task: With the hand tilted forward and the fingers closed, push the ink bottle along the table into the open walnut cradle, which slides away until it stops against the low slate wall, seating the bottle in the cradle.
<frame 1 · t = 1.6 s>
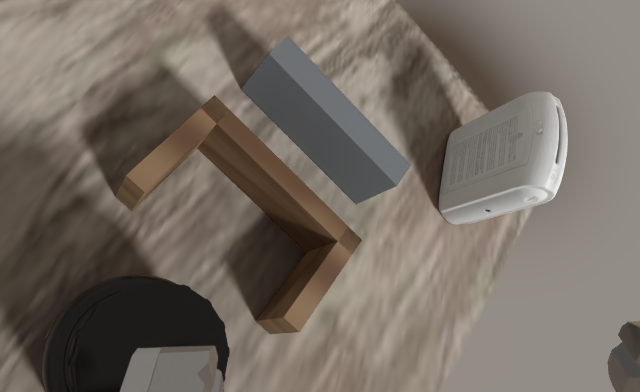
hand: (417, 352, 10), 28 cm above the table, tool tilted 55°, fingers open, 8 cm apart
ink bottle: (118, 354, 33), on the table
wall: (308, 139, 44), on the table
cradle: (243, 218, 36), point 3 cm above the table, slide at 0.0 cm
photo printer: (453, 179, 52), on the table
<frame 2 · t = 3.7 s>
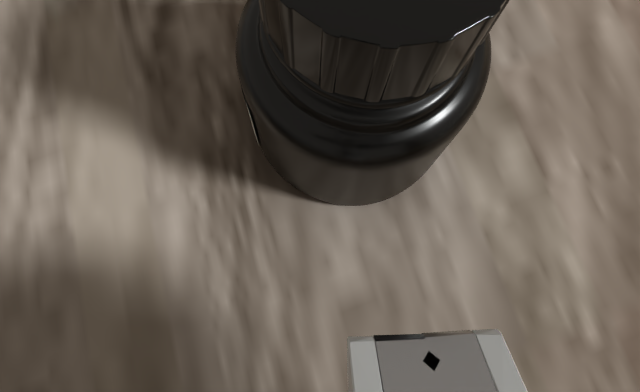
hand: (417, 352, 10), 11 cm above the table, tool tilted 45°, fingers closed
ink bottle: (348, 116, 24), on the table
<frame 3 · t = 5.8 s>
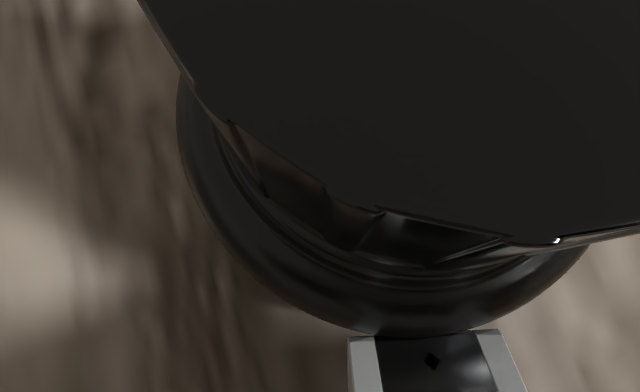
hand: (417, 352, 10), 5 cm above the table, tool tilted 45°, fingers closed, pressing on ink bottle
ink bottle: (369, 180, 16), on the table, touching gripper
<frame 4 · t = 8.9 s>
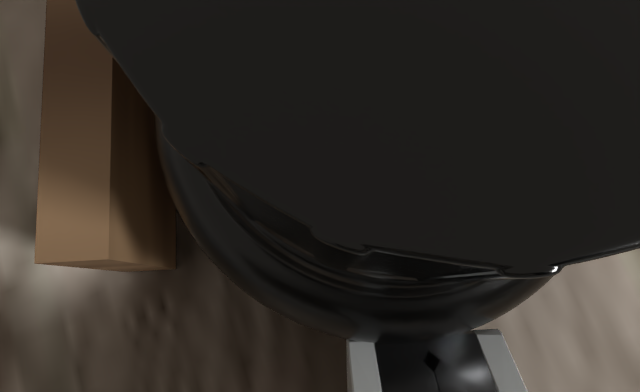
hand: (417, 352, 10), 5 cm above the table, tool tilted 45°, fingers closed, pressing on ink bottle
ink bottle: (358, 178, 16), on the table, touching cradle, gripper
cradle: (372, 94, 14), point 2 cm above the table, slide at 5.1 cm, touching ink bottle
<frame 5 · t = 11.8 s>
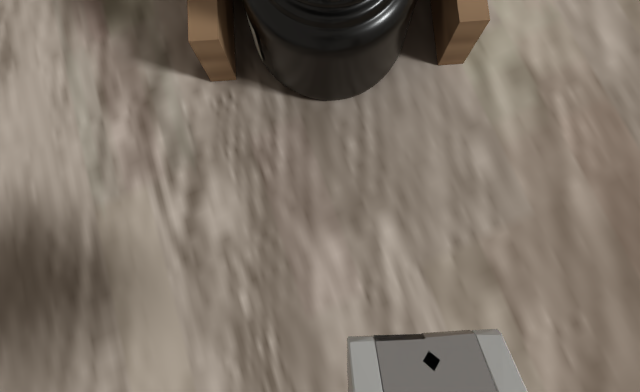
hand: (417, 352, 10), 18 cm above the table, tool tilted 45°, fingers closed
ink bottle: (329, 35, 31), on the table
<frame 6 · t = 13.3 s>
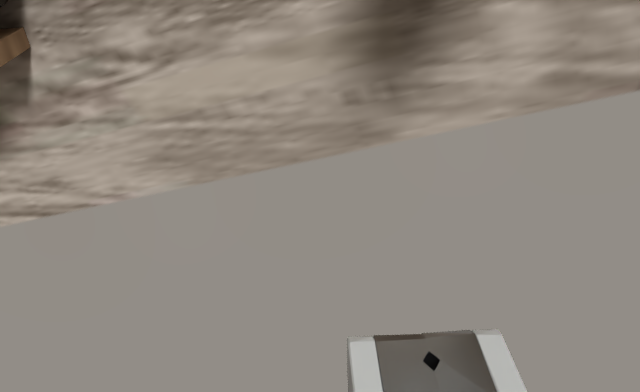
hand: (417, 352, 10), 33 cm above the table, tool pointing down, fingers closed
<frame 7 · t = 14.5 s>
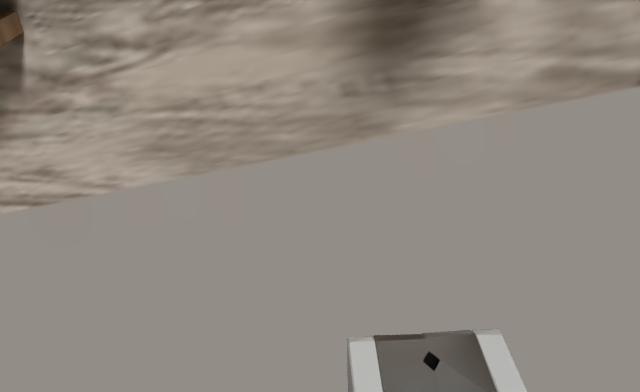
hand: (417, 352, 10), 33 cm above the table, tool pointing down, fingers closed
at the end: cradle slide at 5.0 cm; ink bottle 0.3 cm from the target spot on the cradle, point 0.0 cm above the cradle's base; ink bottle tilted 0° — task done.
